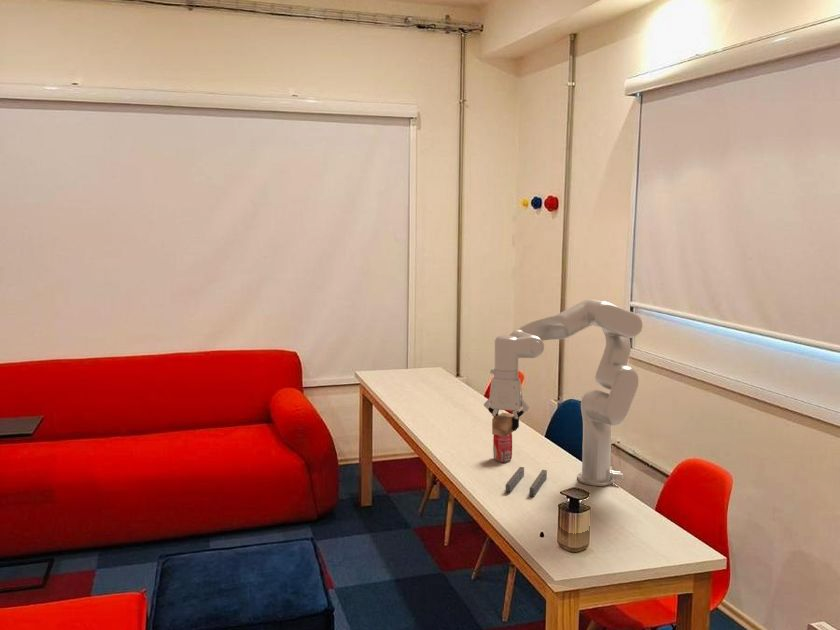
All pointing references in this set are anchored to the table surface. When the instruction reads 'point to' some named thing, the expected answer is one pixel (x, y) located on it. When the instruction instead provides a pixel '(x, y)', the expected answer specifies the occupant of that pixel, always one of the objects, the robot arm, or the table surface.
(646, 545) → the table surface
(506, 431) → the walnut block
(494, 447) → the soda can
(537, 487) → the guide channel
